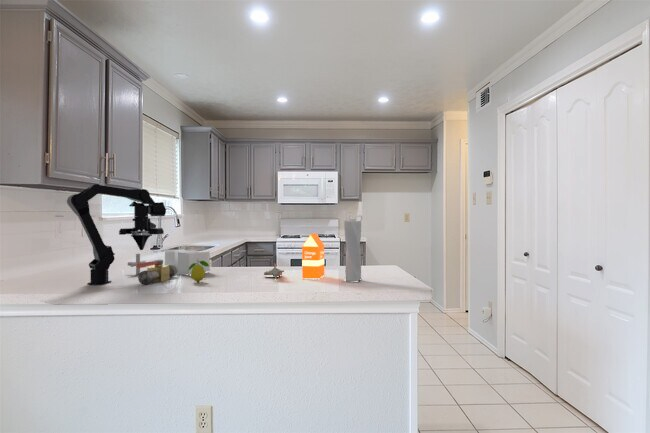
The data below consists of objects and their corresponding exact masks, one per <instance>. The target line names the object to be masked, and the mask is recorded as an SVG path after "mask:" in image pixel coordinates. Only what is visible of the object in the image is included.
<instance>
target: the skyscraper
mask: <svg viewBox="0 0 650 433" xmlns="http://www.w3.org/2000/svg"><path fill="white" fill-rule="evenodd" d="M358 217H360V220H357V218H358ZM362 220H363V216H362V215H361V214H359V215H356V216H355V218H352V219H351V218H347V219H344V222H343V224H344V225H343V227H344V240H345V241H344V242H345V247H346V249H345V278H346V281H358V282H357V283H360V281H361V280H362V256H361V255H362V254H361V247H360V244H361V238H362ZM360 279H361V280H360ZM359 280H360V281H359Z"/></svg>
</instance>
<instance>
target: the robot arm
mask: <svg viewBox="0 0 650 433" xmlns="http://www.w3.org/2000/svg"><path fill="white" fill-rule="evenodd" d="M97 195H104V196H111V197H118V198H125V199H128V200H130V201H132V202H131V204H130V203H129V205H128V206H129V207H132V208H133V207H134V211H133V213H134V214H133V217H134V218H132V222H134V224H133V225H134V227H132V228H131V227H129V228H128V227H125V228H120V229H119V231H118V235H130V237H132V239H133V240H134V242H135V243H136V245H137V247H138V248H139V250H140V251H143V250H144V249H145V246H146V243H147V241H148V240H149V238H150V237H151V236H153V235H164V232H165V231H164V229H163V227H157V224H155V223H153V222H151V218H149V217H165V216H166V213H167V208H166V206H165V205H164V204H165V203H164V202H163V201H161V202H155V200H154V199H153V198H152V197H151V194H150V192H149V190H147V189H145V188H131V189H128V188H121V187H115V186H108V185H104V184H103V185H101V184H98V183H95V184H91V185H90V186H88V187H87V188H86V189H83V190H82V191H80V192H79V193H75V194H71V195H69V196H68V197H67V199H66V203H67V205H68V207H69V208H70V209H71V211H72V212H73V213H74V214H75V215H76V216H77V218H78V220H79V222H80V223H81V225H82V227H83V229H84V232H85V234H86V236H87V238H88V239H89V242H90V244H91V246H92V253H93V257H94V258H93V259H92V260H91V261H90V262H89V263H88V266H89V268H90V271H89V272H90V282H87V284H86V285H104V284H107V283H108V284H109V283H112V280H109V269H110V266H111V265H112V263H114V261H115V256H114V255H116V253H114V250H113V247H112V245H106V244H105V243H104V241H103V239H102V236H101V234H100V232H99V230H98V228H97V226H96V224H95V222H94V219H93V218H92V215H91V213H90V212H91V210H90V204H89V201H90V200H92V199H93V198H94V197H96V196H97Z"/></svg>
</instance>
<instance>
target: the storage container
mask: <svg viewBox="0 0 650 433" xmlns="http://www.w3.org/2000/svg"><path fill="white" fill-rule="evenodd" d="M210 253H211V252H210V250H209V251H200V250H195V249H193V250H191V249H190V250H186V249H181V248H180V249H169V250H167V249H166V250H164V266H167V265H174V266H175V267H176V269H177V273H176V274H178V273H180V274H179V275H182V274H188V275H190V274H191V271H192V269H193V268H191V269H190V270H189V267H190V266H191V265H192V264H193V263H197V264H199V265H201V264H200V262H199V261H205V262H207V263H208V265H209V266H203V265H201V266H202V267H203V268H204V271H205V272H206V271H210V270H211V269H210V268H211V265H210V264H211V260H210V258H211V257H210ZM197 264H196V265H197ZM210 272H211V271H210Z"/></svg>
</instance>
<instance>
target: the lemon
mask: <svg viewBox="0 0 650 433" xmlns="http://www.w3.org/2000/svg"><path fill="white" fill-rule="evenodd" d="M199 262H200V264H201V265H203V266H209V265H208V263H207V262H205V261H199ZM196 264H197V263H193V264H192V265H191V266H190V267H189V270H190V269H191V268H193V269H192V271H191V276H190V277H191V278H192V280H193V281H195V282H196V283H200V281H202V280H203V279H204V278H205V276H206V274H205V271H204V268H203V267H202V266H201V265H199V264H197V265H196Z"/></svg>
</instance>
